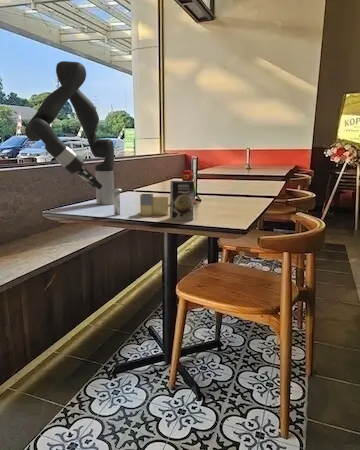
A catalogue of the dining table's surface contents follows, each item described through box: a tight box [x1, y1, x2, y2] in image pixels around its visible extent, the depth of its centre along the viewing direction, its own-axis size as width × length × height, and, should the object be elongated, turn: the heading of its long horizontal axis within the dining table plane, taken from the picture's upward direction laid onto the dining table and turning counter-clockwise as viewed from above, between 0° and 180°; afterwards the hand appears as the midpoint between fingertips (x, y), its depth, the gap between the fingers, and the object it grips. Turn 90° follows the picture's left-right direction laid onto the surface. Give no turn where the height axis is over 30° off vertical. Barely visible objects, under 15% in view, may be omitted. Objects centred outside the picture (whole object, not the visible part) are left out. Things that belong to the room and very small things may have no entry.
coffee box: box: [169, 180, 195, 222], centre depth 153 cm, size 9×6×16 cm
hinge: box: [139, 193, 169, 217], centre depth 167 cm, size 12×12×9 cm
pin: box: [111, 188, 123, 216], centre depth 162 cm, size 5×5×12 cm
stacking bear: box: [180, 169, 197, 205], centre depth 198 cm, size 11×10×18 cm
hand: (98, 186), depth 157 cm, fingers open, 8 cm apart
